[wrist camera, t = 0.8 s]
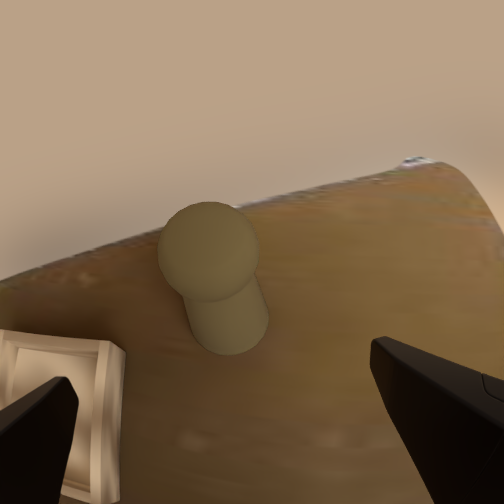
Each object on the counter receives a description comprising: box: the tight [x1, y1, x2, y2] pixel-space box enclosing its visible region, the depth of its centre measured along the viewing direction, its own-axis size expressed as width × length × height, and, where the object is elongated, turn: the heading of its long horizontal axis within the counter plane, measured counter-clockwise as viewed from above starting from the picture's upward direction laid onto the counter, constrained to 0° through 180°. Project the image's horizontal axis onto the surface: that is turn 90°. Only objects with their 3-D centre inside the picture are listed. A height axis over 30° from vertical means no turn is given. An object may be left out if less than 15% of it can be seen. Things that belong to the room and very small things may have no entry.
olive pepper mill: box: [157, 202, 269, 356], centre depth 20 cm, size 6×6×11 cm
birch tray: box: [0, 329, 126, 504], centre depth 19 cm, size 12×12×3 cm
